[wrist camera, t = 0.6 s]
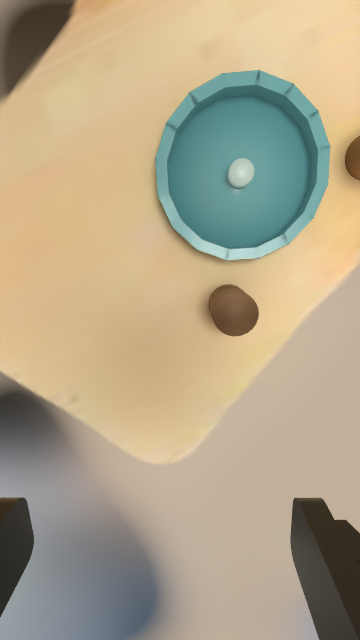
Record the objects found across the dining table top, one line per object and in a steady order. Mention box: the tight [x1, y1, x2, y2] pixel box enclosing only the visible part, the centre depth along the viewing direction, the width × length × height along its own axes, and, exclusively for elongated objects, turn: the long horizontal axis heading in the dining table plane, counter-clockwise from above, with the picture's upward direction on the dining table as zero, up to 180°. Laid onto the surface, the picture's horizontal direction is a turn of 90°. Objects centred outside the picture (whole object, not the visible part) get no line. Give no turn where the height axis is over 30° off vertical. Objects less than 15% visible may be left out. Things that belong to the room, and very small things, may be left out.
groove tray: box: [155, 70, 330, 260], centre depth 24 cm, size 14×14×2 cm
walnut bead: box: [209, 285, 259, 336], centre depth 26 cm, size 4×4×5 cm
